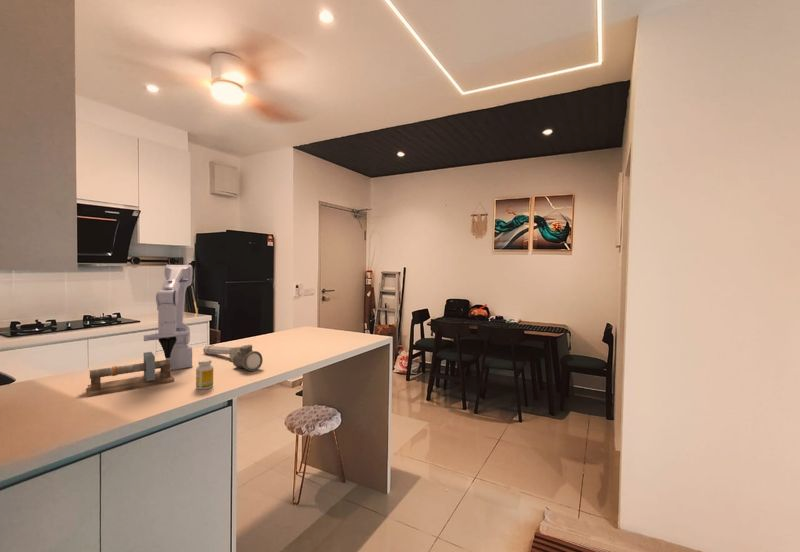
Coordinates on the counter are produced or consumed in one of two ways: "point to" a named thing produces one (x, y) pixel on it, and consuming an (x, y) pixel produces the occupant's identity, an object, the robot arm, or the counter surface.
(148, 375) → the collar
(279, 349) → the counter surface
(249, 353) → the pipe fitting
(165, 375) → the pipe stand
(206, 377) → the supplement bottle
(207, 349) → the grey handle
